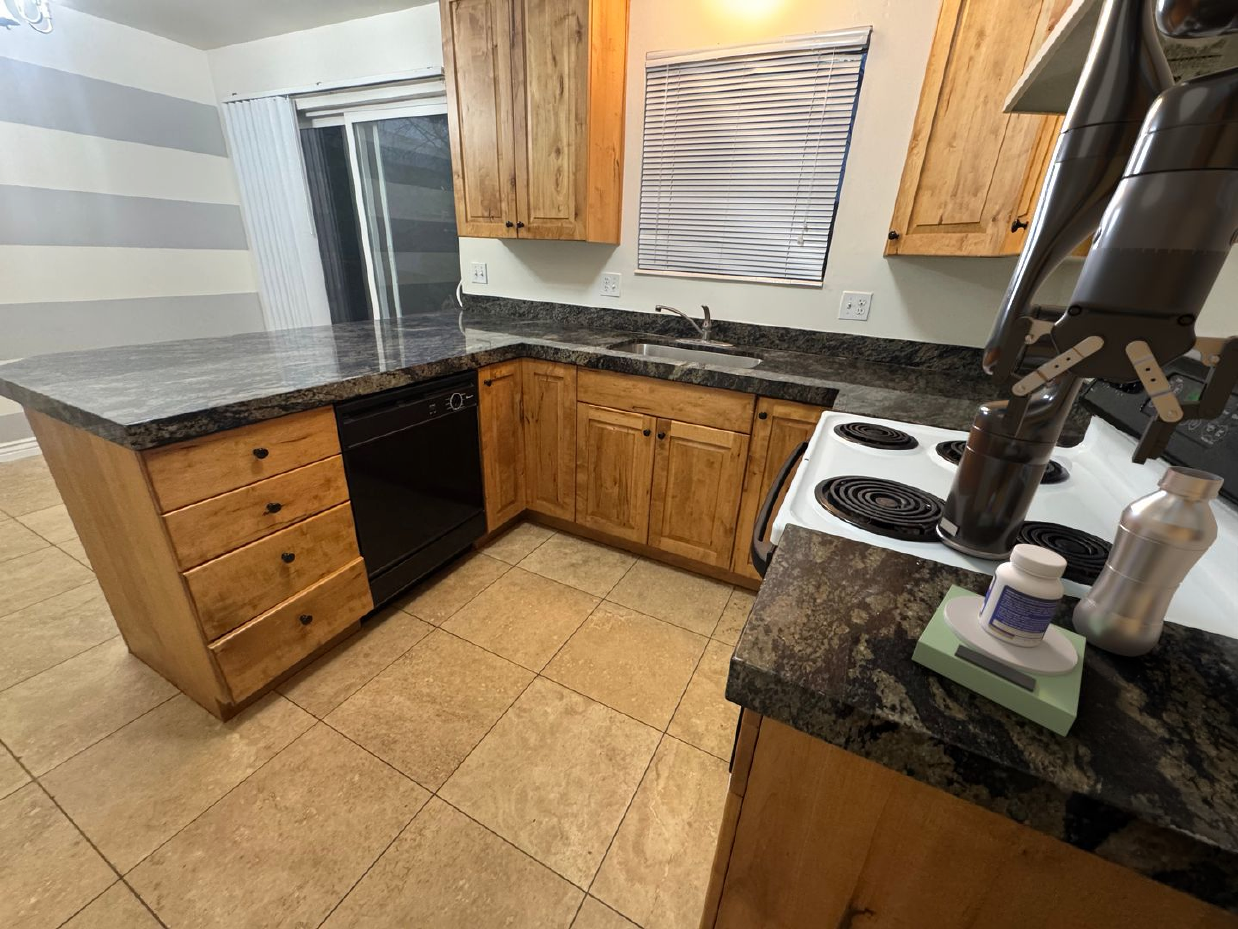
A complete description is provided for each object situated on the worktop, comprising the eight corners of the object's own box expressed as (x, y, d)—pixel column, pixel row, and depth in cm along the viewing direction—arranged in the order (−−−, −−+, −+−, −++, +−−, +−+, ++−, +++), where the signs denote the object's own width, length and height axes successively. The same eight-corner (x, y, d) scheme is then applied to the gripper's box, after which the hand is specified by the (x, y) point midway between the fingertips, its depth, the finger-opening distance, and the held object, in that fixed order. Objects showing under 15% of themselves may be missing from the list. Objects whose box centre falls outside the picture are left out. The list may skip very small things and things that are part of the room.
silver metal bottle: (1164, 671, 50) (1274, 492, 43) (1088, 658, 51) (1182, 482, 44) (1118, 629, 56) (1207, 465, 48) (1051, 618, 57) (1128, 457, 50)
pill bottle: (1054, 650, 48) (1092, 572, 44) (1000, 647, 48) (1034, 569, 44) (1014, 614, 53) (1046, 541, 49) (965, 611, 53) (993, 538, 49)
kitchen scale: (946, 600, 59) (954, 579, 58) (1076, 655, 52) (1088, 632, 50) (911, 659, 50) (920, 635, 48) (1065, 737, 42) (1079, 711, 41)
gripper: (1294, 251, 35) (1182, 461, 42) (1043, 246, 44) (983, 419, 51) (1322, 246, 30) (1190, 486, 37) (1033, 241, 39) (967, 434, 46)
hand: (1070, 447), depth 44 cm, fingers open, 8 cm apart
